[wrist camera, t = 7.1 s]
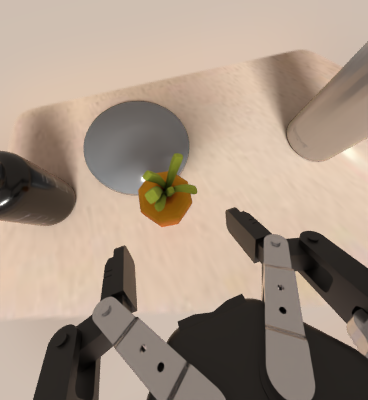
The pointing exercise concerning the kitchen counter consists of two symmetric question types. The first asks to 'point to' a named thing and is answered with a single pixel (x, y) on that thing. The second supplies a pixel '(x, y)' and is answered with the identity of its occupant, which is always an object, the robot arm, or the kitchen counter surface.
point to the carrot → (166, 194)
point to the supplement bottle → (32, 193)
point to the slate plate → (133, 144)
